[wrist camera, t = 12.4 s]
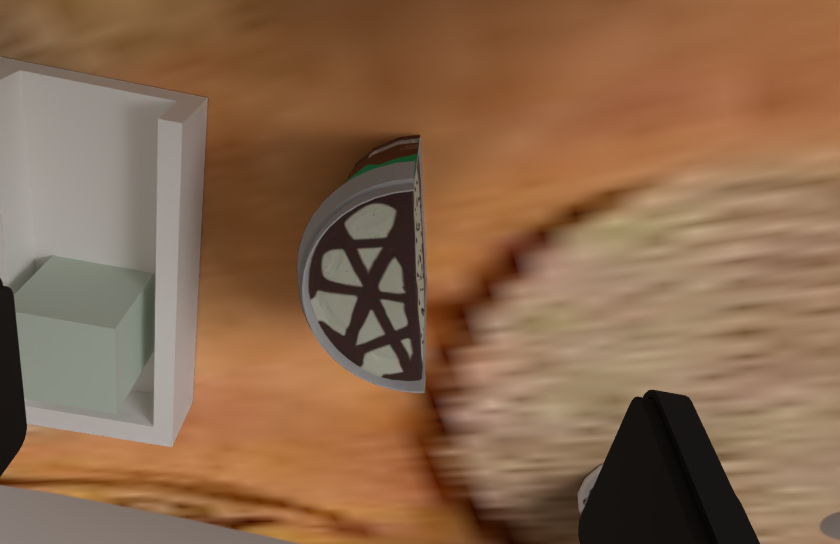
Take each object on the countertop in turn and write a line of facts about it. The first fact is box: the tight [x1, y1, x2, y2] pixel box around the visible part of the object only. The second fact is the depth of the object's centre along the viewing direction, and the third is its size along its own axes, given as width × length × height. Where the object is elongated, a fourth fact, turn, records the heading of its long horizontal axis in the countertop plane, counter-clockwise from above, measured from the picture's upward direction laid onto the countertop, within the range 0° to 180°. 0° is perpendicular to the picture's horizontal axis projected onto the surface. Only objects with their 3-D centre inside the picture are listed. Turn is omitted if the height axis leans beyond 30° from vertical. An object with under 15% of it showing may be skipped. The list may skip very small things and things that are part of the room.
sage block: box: [14, 255, 154, 414], centre depth 42 cm, size 6×6×6 cm
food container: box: [297, 135, 427, 393], centre depth 38 cm, size 12×6×10 cm, turn 3°
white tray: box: [0, 57, 208, 447], centre depth 42 cm, size 22×20×4 cm
